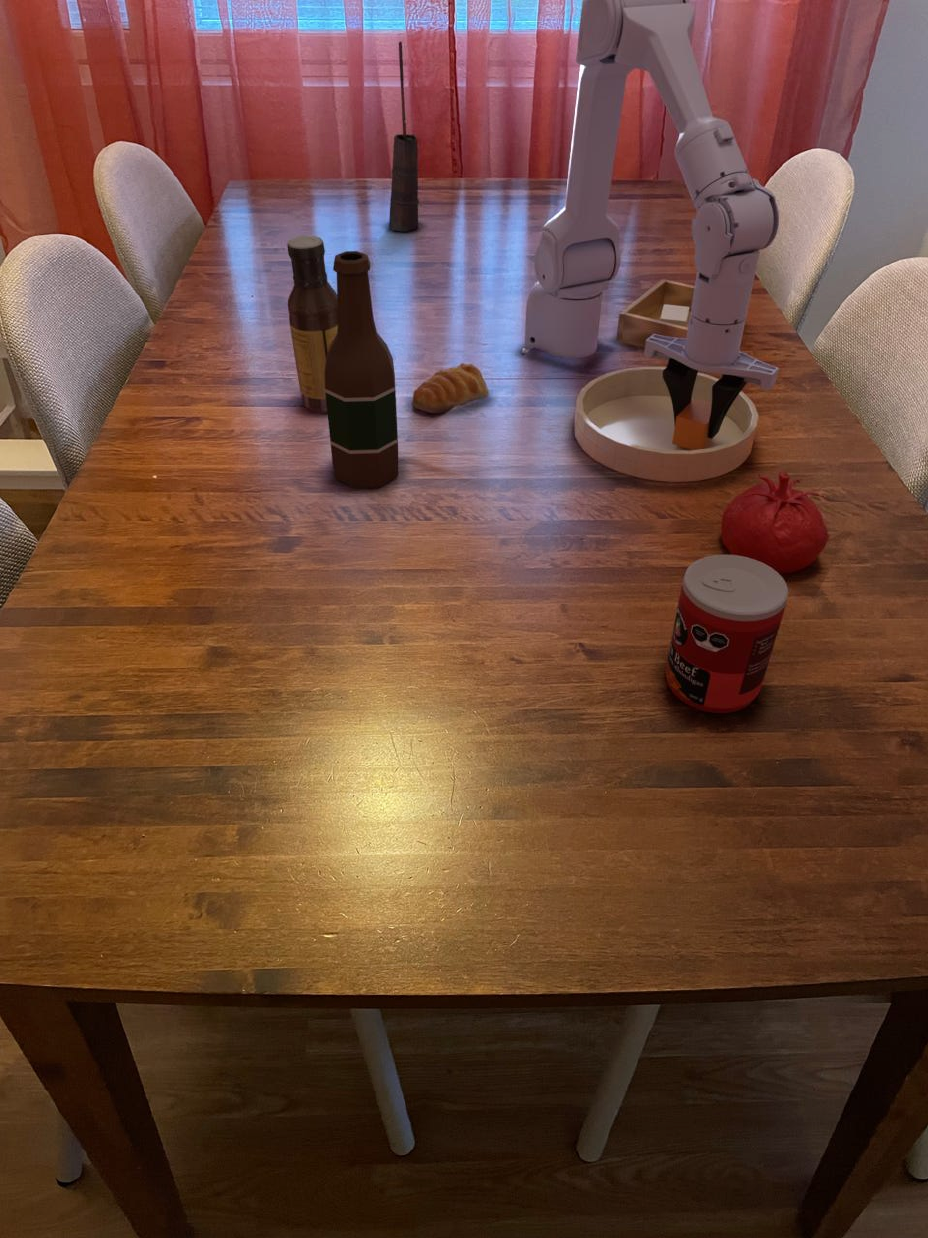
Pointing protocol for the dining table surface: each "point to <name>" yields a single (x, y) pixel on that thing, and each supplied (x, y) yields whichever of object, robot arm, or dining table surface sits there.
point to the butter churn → (404, 174)
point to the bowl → (657, 428)
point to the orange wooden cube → (693, 425)
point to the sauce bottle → (311, 318)
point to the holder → (654, 313)
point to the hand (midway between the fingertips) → (696, 429)
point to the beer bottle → (360, 384)
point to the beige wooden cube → (675, 315)
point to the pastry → (450, 389)
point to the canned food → (724, 632)
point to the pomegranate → (775, 525)
